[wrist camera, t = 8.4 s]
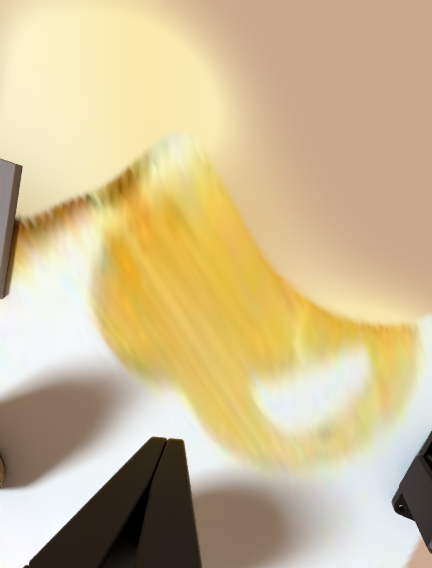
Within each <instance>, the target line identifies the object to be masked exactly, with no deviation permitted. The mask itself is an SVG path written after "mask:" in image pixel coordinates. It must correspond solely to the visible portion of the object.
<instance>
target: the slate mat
mask: <svg viewBox="0 0 432 568" xmlns="http://www.w3.org/2000/svg"><path fill="white" fill-rule="evenodd" d="M21 174H22V166H21V165H18V164H15V163H12V162H9V161H5V160H3V159H0V299H3V295H4V288H5V282H6V275H7V268H8V261H9V255H10V248H11V241H12V234H13V228H14V221H15V214H16V208H17V200H18V194H19V187H20V180H21Z"/></svg>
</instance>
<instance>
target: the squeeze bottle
mask: <svg viewBox="0 0 432 568" xmlns="http://www.w3.org/2000/svg"><path fill="white" fill-rule="evenodd" d="M4 478H5V476H4V465H3V463H2V461H1V458H0V487H1V485H2V483H3V480H4Z"/></svg>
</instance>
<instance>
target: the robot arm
mask: <svg viewBox="0 0 432 568" xmlns="http://www.w3.org/2000/svg"><path fill="white" fill-rule="evenodd" d="M400 505H403V506H400ZM392 506H393V508H394V511H395V512H396V513H398V514H399V515H402V516H404V517H406V518H409V519H411V520H413V521H415V522H416V524H417V527H418V529H419V531H420V533H421V535H422V538H423V540H424V542H425V544H426V546H427V548H428V550H429V552H430V553H432V432H431V433H430V435H429V437H428V439H427V440H426V442H425V444H424V445H423V447H422V449H421V451H420V452H419V454H418V455H417V456H416V457H415V459H414V460H413V462H412V464H411V466H410V467H409V469H408V471H407V473H406V474H405V476H404V478H403V480H402V481H401V483H400V485H399V489H398V490H397V492H396V494H395V496H394V497H393V499H392ZM23 568H203V567H202V560H201V554H200V547H199V540H198V533H197V526H196V519H195V513H194V506H193V499H192V492H191V485H190V479H189V472H188V465H187V458H186V451H185V444H184V441H183V440H182V439H173V438H170V439H168V440H167V439H166V438H163V437H151V438H150V439H149V440H148V441H147V442H146V443H145V444H144V445H143V446H142V447H141V448H140V449H139V450H138V451H137V452H136V453H135V454H134V455H133V456H132V457H131V458H130V459H129V460H128V461H127V462H126V463H125V464H124V465H123V466H122V467H121V468H120V469H119V471H118V472H117V473H116V474H115V475H114V476H113V477H112V478H111V479H110V480H109V481H108V482H107V483H106V484H105V485H104V486H103V487H102V488H101V489H100V490H99V491H98V492H97V493H96V494H95V495H94V496H93V497H92V498H91V499H90V500H89V501H88V502H87V503H86V504H85V505H84V506H83V507H82V508H81V509H80V510H79V511H78V512H77V513H76V514H75V515H74V516H73V517H72V518H71V519H70V521H69V522H68V523H67V524H66V525H65V526H64V527H63V528H62V529H61V530H60V531H59V532H58V533H57V534H56V535H55V536H54V537H53V538H52V539H51V540H50V541H49V542H48V543H47V544H46V545H45V546H44V547H43V548H42V549H41V550H40V551H39V552H38V553H37V554H36V555H35V556H34V557H33V558H32V559H31V560H30V562H29V566H28V565H25V566H24V567H23Z"/></svg>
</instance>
